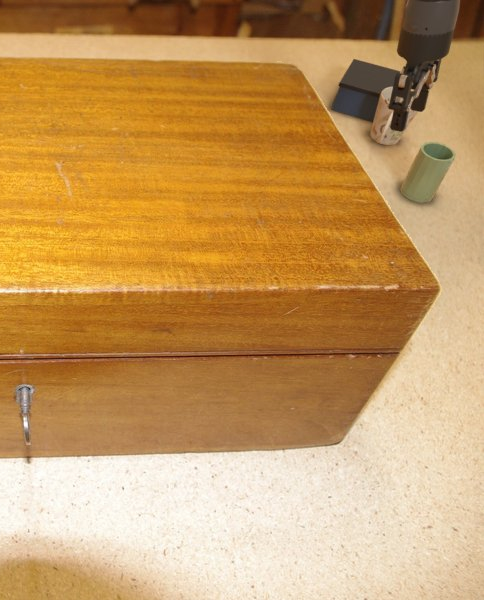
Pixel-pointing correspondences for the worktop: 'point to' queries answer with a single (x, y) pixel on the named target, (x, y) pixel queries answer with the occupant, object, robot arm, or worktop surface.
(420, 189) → the cup
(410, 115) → the mug
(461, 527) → the worktop surface
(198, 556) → the worktop surface
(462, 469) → the worktop surface
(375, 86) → the container
